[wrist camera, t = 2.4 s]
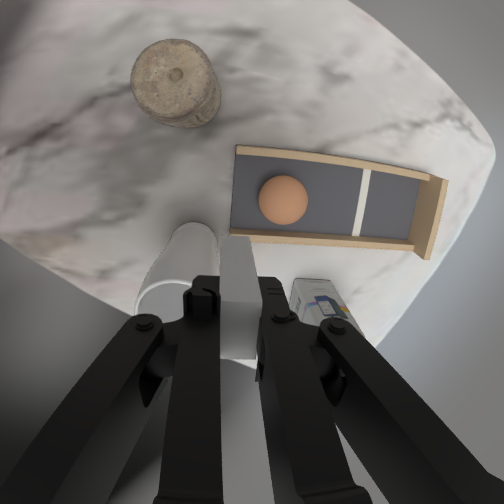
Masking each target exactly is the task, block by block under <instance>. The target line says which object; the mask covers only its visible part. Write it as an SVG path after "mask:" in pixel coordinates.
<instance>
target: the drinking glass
mask: <svg viewBox="0 0 504 504" xmlns="http://www.w3.org/2000/svg"><path fill="white" fill-rule="evenodd" d="M198 275H210V276H220V264H219V259H218V252H217V240H216V237H215V235H214V233H213V232H212V230H211V229H210V228H209V227H207V226H206V225H204V224H201V223H197V222H189V223H185V224H183V225H181V226H180V227H178V228H177V229H176V230H175V232H174V233H173V235H172V237H171V239H170V241H169V242H168V243H167V245H166V246H165V248H164V249H163V251H162V252H161V253H160V255H159V256H158V258H157V259H156V260H155V262H154V263H153V265H152V266H151V268H150V270H149V271H148V273H147V275H146V277H145V279H144V281H143V283H142V286H141V288H140V291H139V294H138V297H137V300H136V303H135V307H134V316H135V315H138V314H144V313H147V314H153V315H156V316H158V317H159V318H160V319H162V323H166V322H172V321H176V320H178V319H180V318H182V317H183V315H184V314H183V294H184V292H185V291H186V290H188V289H189V288H191V286H192V281H193V279H194V278H196V277H197V276H198Z"/></svg>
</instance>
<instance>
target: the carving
mask: <svg viewBox="0 0 504 504" xmlns="http://www.w3.org/2000/svg"><path fill="white" fill-rule="evenodd" d="M131 88H132V92H133V95H134V98H135V100H136V102H137V103H138V105H139V107H140V108H141V110H142V111H143V112H144V113H145V114H146V115H148V116H149V117H151V118H152V119H154V120H156V121H158V122H160V123H162V124H164V125H169V126H178V127H183V128H193V127H198V126H201V125H203V124H205V123H207V122H208V121H209V120H211V119H212V118H213V116H214V115H215V114H216V113H217V111H218V109H219V106H220V102H221V90H220V85H219V83H218V80H217V77H216V75H215V74H214V72H213V69H212V66H211V63H210V61H209V59H208V57H207V55H206V54H205V53H204V51H203V50H202V49H200V48H199V47H198V46H197V45H195V44H194V43H192V42H190V41H188V40H182V39H166V40H162V41H158V42H156V43H154V44H152V45H150V46H149V47H147V48H146V49H145V50H144V51H143V52H142V53H141V54H140V55H139V57H138V58H137V60H136V62H135V63H134V66H133V68H132V72H131Z"/></svg>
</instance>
